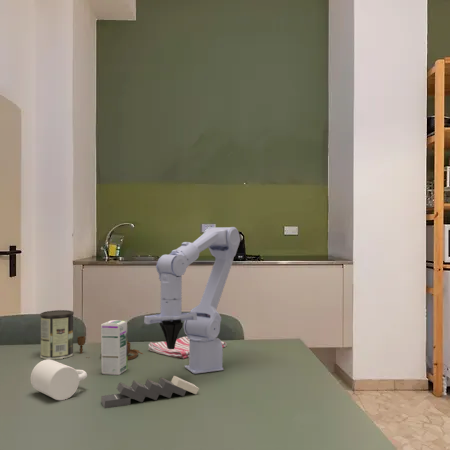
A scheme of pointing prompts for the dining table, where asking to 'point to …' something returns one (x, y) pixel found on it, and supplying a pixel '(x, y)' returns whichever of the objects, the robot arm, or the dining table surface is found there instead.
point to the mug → (56, 379)
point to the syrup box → (114, 347)
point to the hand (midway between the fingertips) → (170, 348)
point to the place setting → (82, 341)
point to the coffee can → (56, 334)
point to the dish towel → (179, 350)
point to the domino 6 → (185, 385)
